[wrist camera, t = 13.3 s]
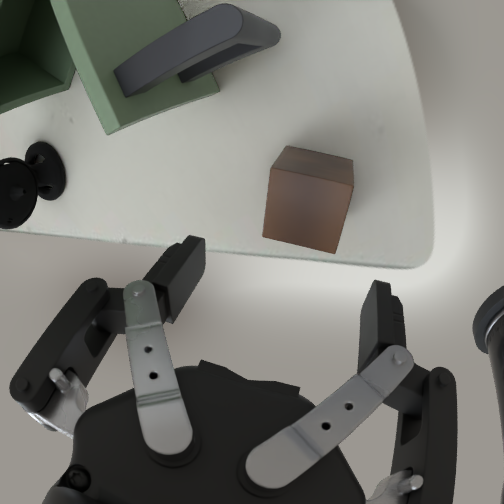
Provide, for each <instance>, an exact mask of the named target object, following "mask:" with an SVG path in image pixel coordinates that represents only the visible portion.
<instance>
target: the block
mask: <svg viewBox="0 0 504 504" xmlns="http://www.w3.org/2000/svg"><path fill="white" fill-rule="evenodd" d="M353 188H354V176H353V160H349V159H345V158H341V157H337V156H333V155H328V154H324V153H319V152H315V151H310V150H305V149H300V148H295V147H290V146H286V147H285V148H284V149H283V151H282V152H281V154H280V155H279V157H278V158H277V159H276V161H275V162H274V164H273V165H272V167H271V168H270V177H269V185H268V193H267V201H266V210H265V218H264V226H263V234H262V237H265V238H269V239H273V240H278V241H282V242H286V243H290V244H295V245H299V246H303V247H307V248H311V249H315V250H320V251H324V252H328V253H332V254H335V253H336V250H337V246H338V243H339V240H340V236H341V233H342V229H343V226H344V222H345V218H346V215H347V211H348V207H349V203H350V200H351V196H352V192H353Z"/></svg>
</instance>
